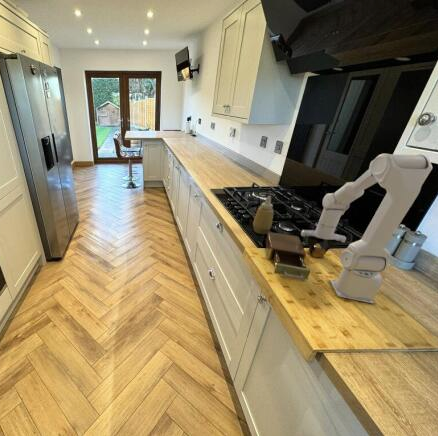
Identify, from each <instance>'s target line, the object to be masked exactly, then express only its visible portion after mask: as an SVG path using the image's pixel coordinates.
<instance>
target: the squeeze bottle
mask: <svg viewBox="0 0 438 436" xmlns="http://www.w3.org/2000/svg"><path fill="white" fill-rule="evenodd" d="M271 201H272V197H271V196H270V195H269V196H267V197H266V199H265V201H264V202H262V203H261V206H259V207H258V208H257V211H256V214H255V216H254V219H253V222H252V227H253V231H254V233H256V234H259V235H267V234H268V232H270V230H271V228H272V225H273V219H274V213H275V212H274V211H275V210H274V209H273V207H274V205H273V204H272V203H271Z"/></svg>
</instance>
